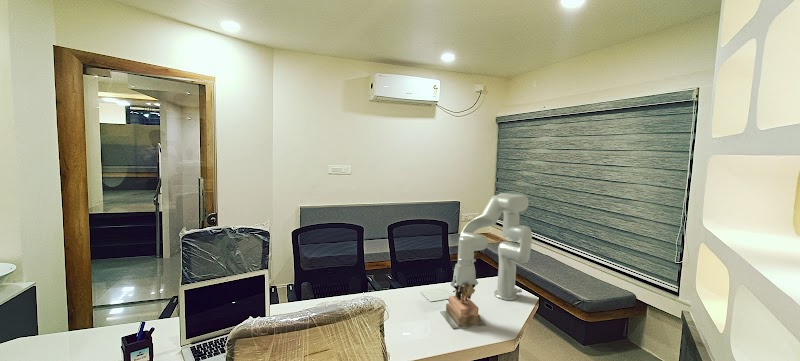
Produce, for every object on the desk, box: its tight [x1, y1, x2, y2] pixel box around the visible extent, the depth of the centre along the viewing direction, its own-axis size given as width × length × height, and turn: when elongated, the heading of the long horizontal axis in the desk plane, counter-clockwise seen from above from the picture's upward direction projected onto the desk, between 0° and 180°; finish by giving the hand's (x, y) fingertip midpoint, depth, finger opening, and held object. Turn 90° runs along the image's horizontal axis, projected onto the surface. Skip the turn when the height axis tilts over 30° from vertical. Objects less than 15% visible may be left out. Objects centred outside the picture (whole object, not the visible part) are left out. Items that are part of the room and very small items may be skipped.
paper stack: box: [419, 287, 455, 302], centre depth 180 cm, size 23×25×1 cm
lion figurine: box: [452, 285, 476, 303], centre depth 159 cm, size 15×5×9 cm, turn 28°
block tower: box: [439, 294, 487, 330], centre depth 159 cm, size 17×16×9 cm
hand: (463, 297), depth 158 cm, fingers closed on lion figurine, 4 cm apart
